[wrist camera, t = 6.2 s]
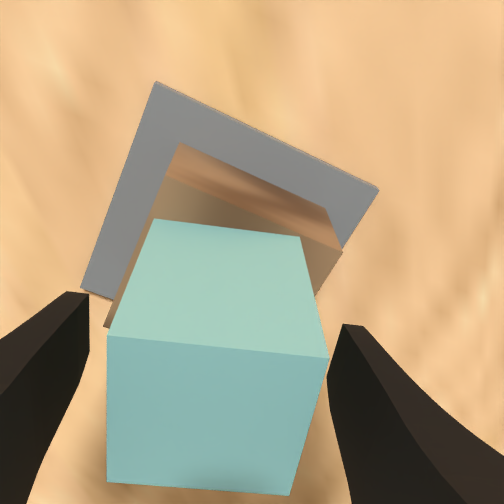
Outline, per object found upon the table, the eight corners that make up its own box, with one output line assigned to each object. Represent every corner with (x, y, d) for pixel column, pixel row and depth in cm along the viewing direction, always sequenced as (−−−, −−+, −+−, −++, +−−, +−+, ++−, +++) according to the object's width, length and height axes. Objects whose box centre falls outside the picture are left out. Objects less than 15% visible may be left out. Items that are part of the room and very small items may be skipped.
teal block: (299, 236, 15) (329, 358, 10) (275, 348, 17) (289, 496, 12) (153, 218, 14) (106, 335, 9) (147, 335, 16) (106, 481, 11)
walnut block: (325, 208, 18) (343, 252, 15) (257, 322, 20) (259, 380, 17) (179, 141, 17) (165, 175, 13) (125, 272, 19) (103, 326, 16)
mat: (376, 186, 18) (379, 190, 18) (271, 351, 22) (272, 357, 21) (156, 81, 16) (154, 82, 16) (82, 282, 20) (79, 287, 19)
